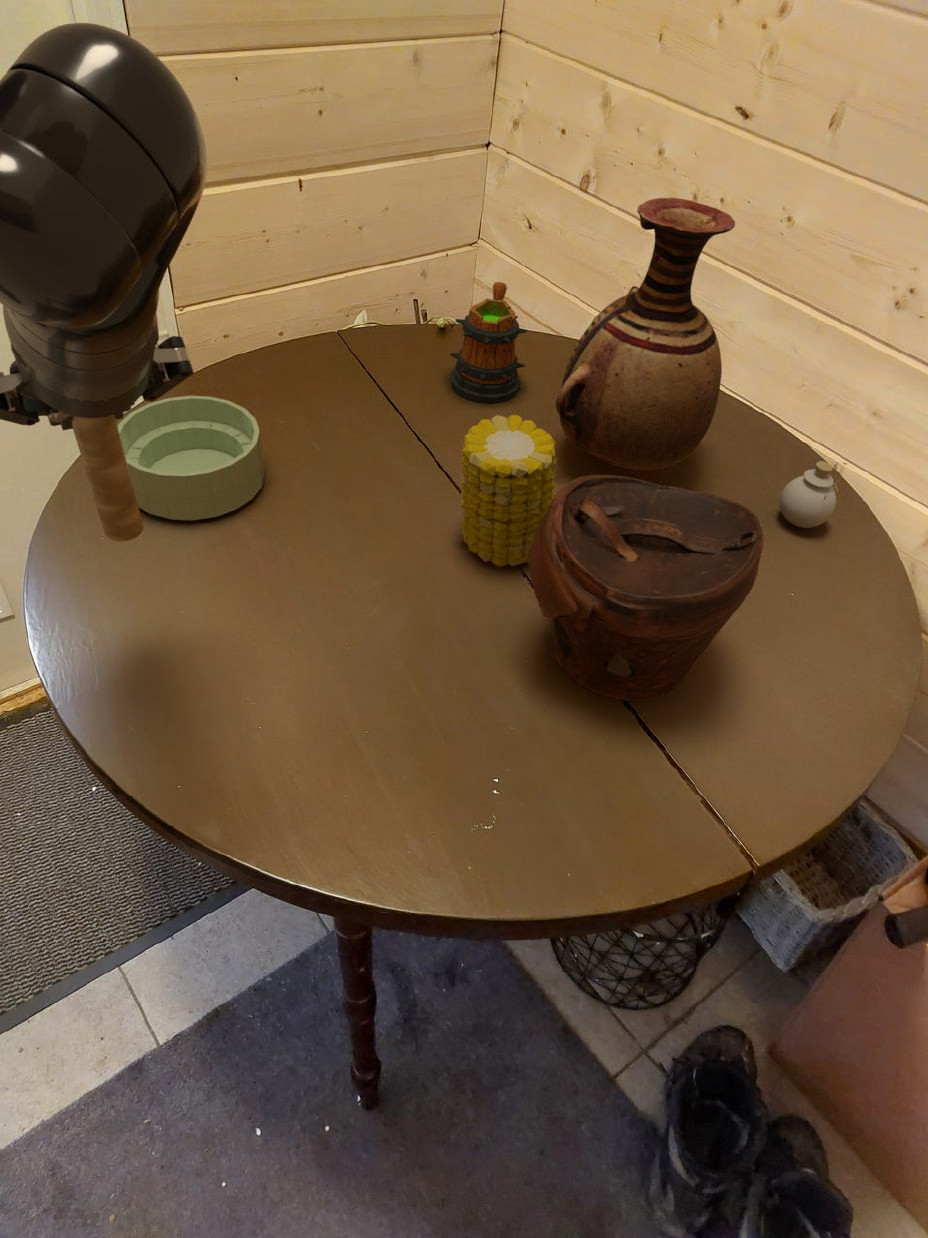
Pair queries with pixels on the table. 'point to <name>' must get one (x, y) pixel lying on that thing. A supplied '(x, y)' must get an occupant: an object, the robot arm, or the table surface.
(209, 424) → the bowl
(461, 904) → the table surface
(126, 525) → the stick
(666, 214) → the vase
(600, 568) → the case
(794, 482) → the ornament
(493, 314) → the mug
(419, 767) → the table surface
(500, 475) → the food
